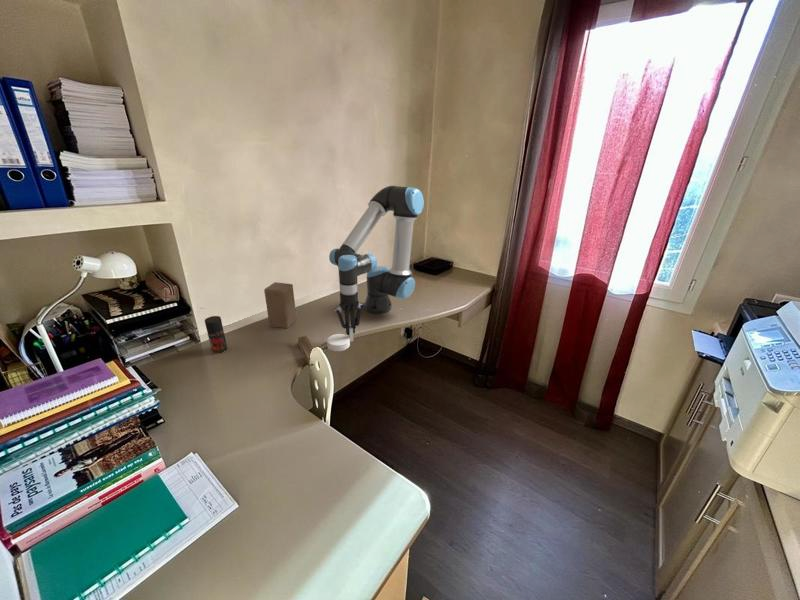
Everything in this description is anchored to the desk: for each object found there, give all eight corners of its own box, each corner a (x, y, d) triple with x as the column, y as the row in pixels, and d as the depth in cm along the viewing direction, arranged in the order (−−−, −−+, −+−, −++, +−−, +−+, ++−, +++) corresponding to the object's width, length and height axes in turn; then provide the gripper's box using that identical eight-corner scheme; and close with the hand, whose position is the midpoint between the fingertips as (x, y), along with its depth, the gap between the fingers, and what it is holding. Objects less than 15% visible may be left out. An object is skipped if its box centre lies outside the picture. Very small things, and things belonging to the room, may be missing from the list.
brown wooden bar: (307, 342, 152) (306, 335, 150) (318, 363, 138) (318, 355, 136) (298, 344, 150) (297, 337, 149) (308, 365, 136) (308, 358, 134)
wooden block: (287, 329, 162) (282, 291, 154) (268, 326, 164) (263, 288, 156) (297, 319, 171) (293, 283, 163) (279, 317, 173) (274, 281, 165)
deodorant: (208, 352, 143) (201, 321, 137) (220, 345, 148) (213, 314, 142) (219, 355, 141) (212, 323, 135) (230, 348, 146) (224, 317, 140)
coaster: (322, 348, 148) (322, 341, 146) (335, 338, 156) (334, 331, 155) (342, 354, 144) (341, 347, 143) (354, 343, 153) (353, 336, 151)
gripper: (359, 286, 148) (360, 333, 158) (331, 291, 142) (334, 339, 152) (366, 292, 142) (367, 340, 152) (337, 297, 136) (339, 347, 146)
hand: (350, 340), depth 152 cm, fingers closed
